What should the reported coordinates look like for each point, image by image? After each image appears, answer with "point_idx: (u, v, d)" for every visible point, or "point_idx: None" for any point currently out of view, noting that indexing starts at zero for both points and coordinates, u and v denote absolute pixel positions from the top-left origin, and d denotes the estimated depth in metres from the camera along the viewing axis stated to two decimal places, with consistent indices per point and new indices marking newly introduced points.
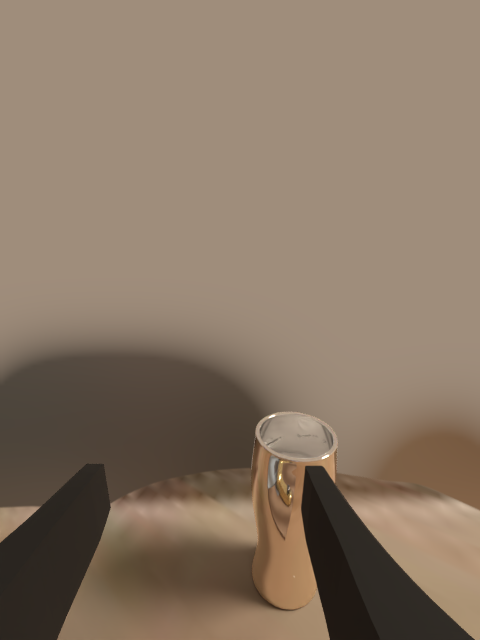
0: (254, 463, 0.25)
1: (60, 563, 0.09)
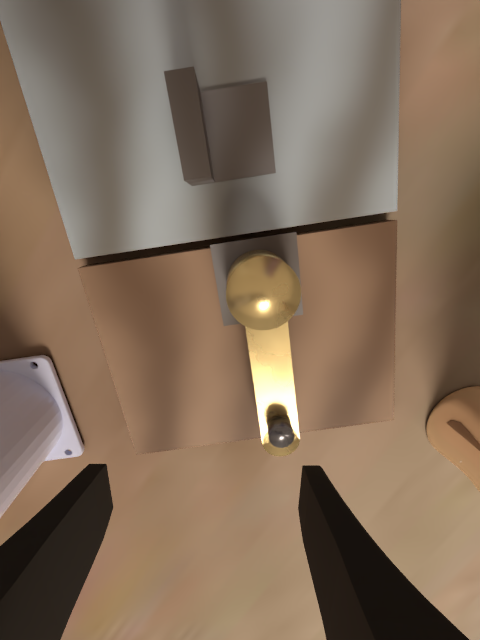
0: None
1: (63, 563, 0.09)
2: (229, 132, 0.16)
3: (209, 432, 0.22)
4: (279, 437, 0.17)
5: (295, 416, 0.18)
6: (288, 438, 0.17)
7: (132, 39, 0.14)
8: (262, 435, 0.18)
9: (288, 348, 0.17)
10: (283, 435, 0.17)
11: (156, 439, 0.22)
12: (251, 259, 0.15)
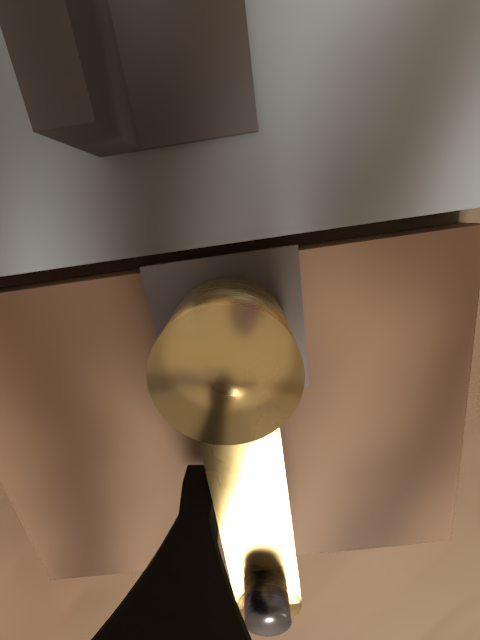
0: None
1: None
2: (163, 45, 0.08)
3: None
4: (264, 622, 0.09)
5: (294, 571, 0.10)
6: (280, 623, 0.09)
7: None
8: (236, 597, 0.11)
9: (280, 467, 0.09)
10: (271, 619, 0.09)
11: (78, 560, 0.14)
12: (196, 309, 0.07)
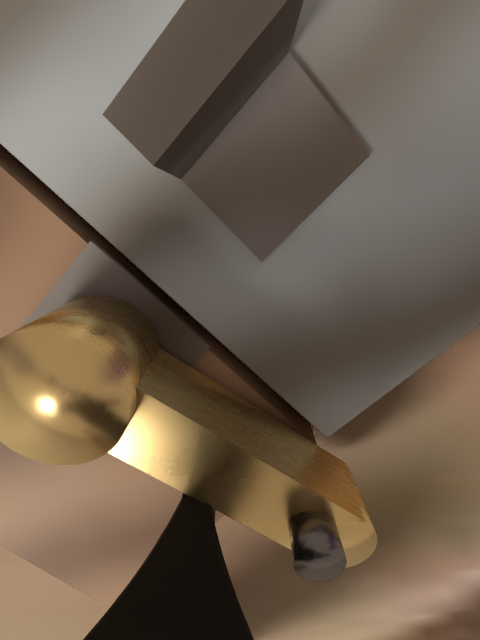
0: None
1: None
2: (265, 149, 0.08)
3: None
4: (316, 565, 0.08)
5: (321, 500, 0.09)
6: (333, 557, 0.08)
7: None
8: None
9: (194, 426, 0.08)
10: (319, 559, 0.08)
11: None
12: None
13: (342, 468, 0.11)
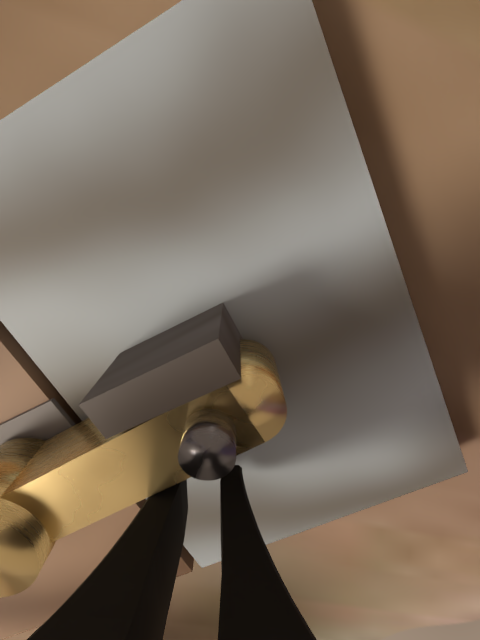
0: None
1: (165, 564, 0.09)
2: None
3: None
4: (209, 461, 0.08)
5: (174, 412, 0.08)
6: (203, 445, 0.07)
7: (273, 221, 0.09)
8: (246, 448, 0.09)
9: (49, 475, 0.09)
10: (200, 456, 0.08)
11: None
12: None
13: None
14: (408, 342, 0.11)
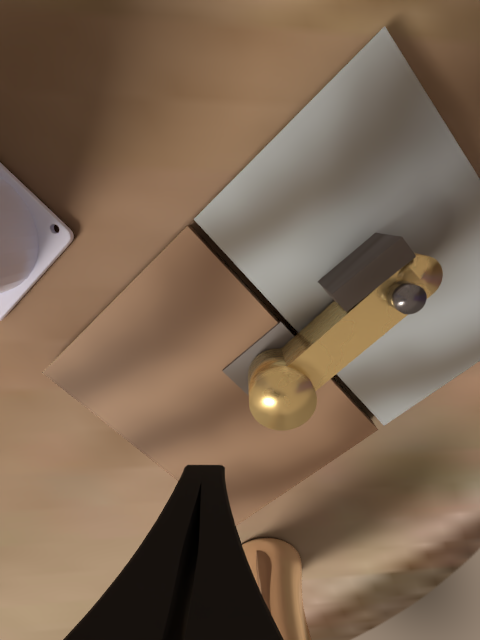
0: None
1: (189, 564, 0.09)
2: None
3: (118, 416, 0.21)
4: (412, 301, 0.15)
5: (380, 287, 0.15)
6: (408, 292, 0.14)
7: (398, 175, 0.16)
8: None
9: (313, 345, 0.16)
10: (407, 299, 0.14)
11: (73, 379, 0.20)
12: (263, 424, 0.17)
13: None
14: None
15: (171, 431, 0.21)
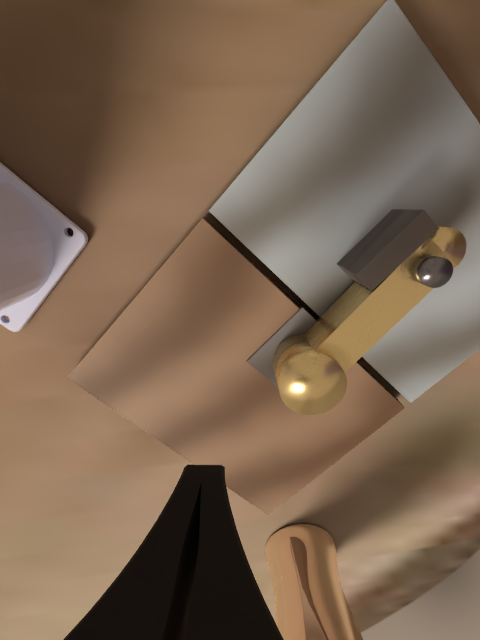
0: None
1: (189, 564, 0.09)
2: None
3: (145, 415, 0.21)
4: (438, 274, 0.14)
5: (404, 263, 0.15)
6: (434, 265, 0.14)
7: (413, 149, 0.16)
8: None
9: (340, 327, 0.16)
10: (434, 273, 0.14)
11: (98, 382, 0.20)
12: (295, 410, 0.17)
13: None
14: None
15: (199, 426, 0.21)
